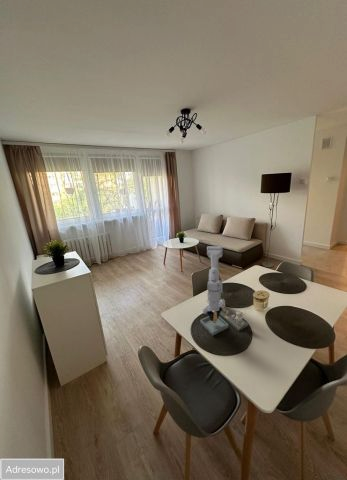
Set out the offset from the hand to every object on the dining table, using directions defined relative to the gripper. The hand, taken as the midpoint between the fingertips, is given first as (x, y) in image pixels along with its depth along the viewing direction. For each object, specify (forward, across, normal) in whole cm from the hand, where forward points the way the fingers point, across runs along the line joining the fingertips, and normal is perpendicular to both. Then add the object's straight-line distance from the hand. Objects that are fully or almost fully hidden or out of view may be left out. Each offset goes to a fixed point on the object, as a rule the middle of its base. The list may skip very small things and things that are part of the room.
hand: (214, 318), depth 114 cm
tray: (+5, 0, 0) cm, 5 cm away
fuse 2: (+3, +13, -8) cm, 15 cm away
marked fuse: (+2, 0, 0) cm, 2 cm away
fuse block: (+5, +13, 0) cm, 14 cm away
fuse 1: (+3, +13, +8) cm, 15 cm away
